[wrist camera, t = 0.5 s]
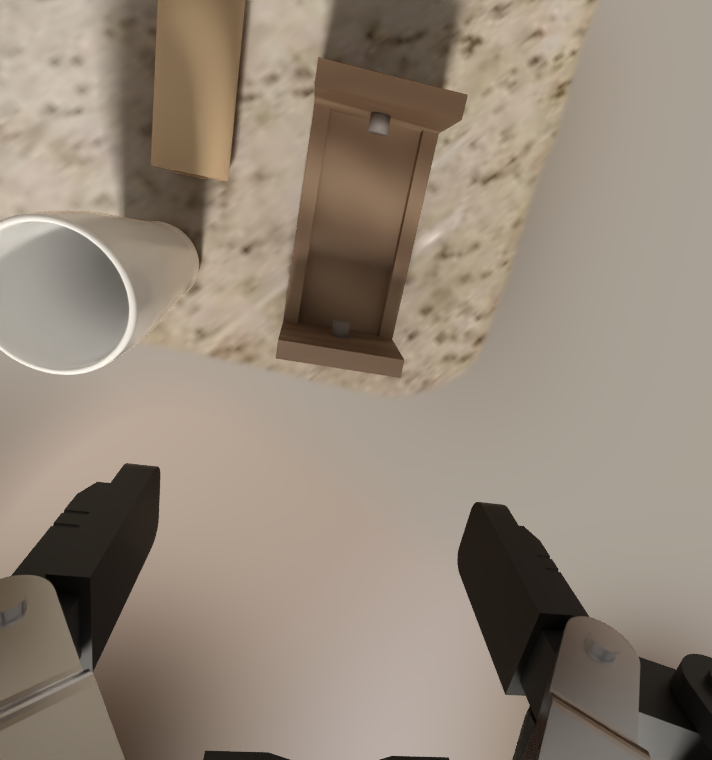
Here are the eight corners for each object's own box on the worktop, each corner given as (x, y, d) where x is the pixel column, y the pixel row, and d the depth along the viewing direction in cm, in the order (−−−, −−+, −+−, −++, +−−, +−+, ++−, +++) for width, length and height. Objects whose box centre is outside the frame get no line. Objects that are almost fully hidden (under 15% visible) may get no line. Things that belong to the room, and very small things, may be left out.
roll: (173, -15, 28) (147, -55, 24) (250, 6, 28) (239, -30, 24) (163, 171, 31) (139, 165, 27) (233, 185, 32) (220, 182, 28)
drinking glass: (91, 255, 32) (-79, 291, 18) (158, 187, 31) (32, 171, 17) (166, 326, 35) (65, 407, 21) (231, 265, 33) (172, 307, 19)
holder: (317, 89, 30) (318, 57, 24) (435, 118, 31) (467, 94, 25) (282, 330, 35) (275, 358, 29) (384, 347, 37) (400, 377, 30)
